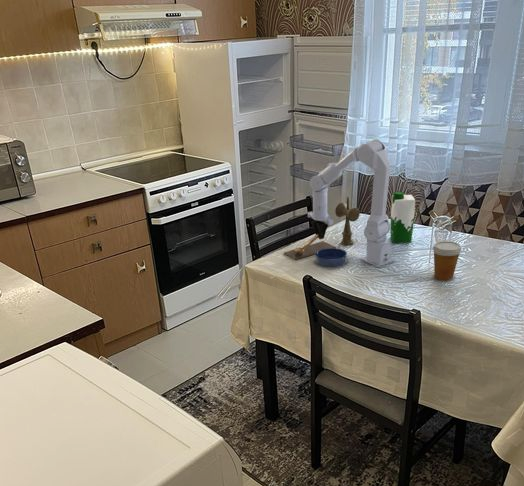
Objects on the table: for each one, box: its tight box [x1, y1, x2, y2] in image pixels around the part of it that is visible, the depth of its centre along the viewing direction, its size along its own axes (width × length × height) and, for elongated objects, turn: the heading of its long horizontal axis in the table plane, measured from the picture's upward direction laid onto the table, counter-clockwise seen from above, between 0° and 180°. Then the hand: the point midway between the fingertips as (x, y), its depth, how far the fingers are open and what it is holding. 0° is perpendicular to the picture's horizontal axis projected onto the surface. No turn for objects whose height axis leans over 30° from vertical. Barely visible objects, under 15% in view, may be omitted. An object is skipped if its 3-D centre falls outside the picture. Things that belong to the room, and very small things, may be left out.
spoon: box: [293, 234, 319, 253], centre depth 220 cm, size 14×4×6 cm, turn 122°
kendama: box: [334, 196, 361, 246], centre depth 222 cm, size 6×10×20 cm, turn 30°
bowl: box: [314, 247, 348, 268], centre depth 211 cm, size 12×12×4 cm
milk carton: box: [389, 190, 416, 244], centre depth 222 cm, size 9×9×20 cm
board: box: [283, 240, 337, 261], centre depth 222 cm, size 20×9×1 cm, turn 122°
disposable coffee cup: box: [432, 240, 462, 282], centre depth 191 cm, size 10×10×12 cm
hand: (320, 238), depth 222 cm, fingers closed on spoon
